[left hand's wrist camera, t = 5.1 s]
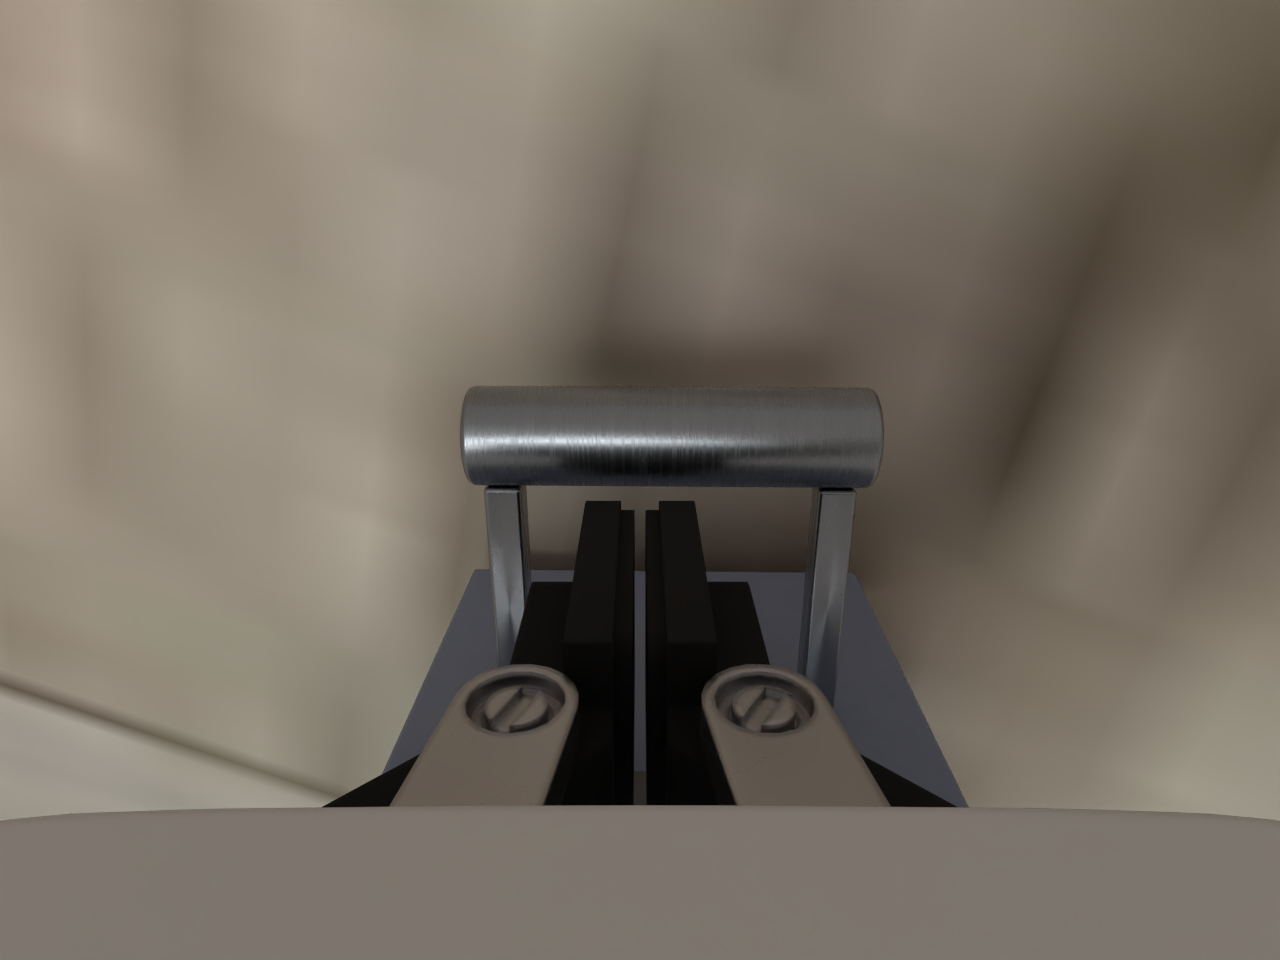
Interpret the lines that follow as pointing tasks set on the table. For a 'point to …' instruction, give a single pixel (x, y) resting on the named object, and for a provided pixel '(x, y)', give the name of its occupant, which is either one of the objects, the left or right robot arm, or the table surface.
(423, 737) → the drawer
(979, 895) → the left robot arm
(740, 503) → the table surface
